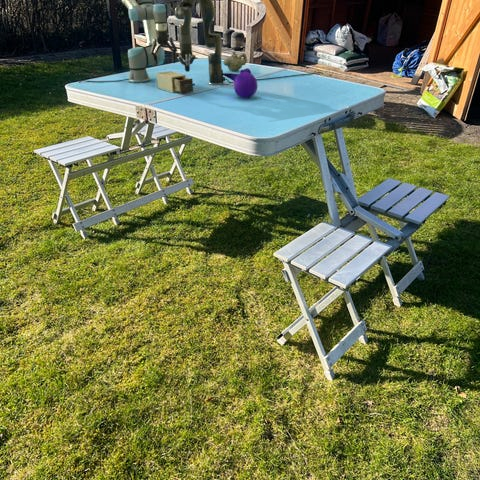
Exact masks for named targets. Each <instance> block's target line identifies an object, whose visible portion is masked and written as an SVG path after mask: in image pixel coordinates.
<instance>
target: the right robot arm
mask: <svg viewBox="0 0 480 480" xmlns="http://www.w3.org/2000/svg"><path fill="white" fill-rule="evenodd" d="M196 3H197V0H181V1H180V2H179V3H178V4H177V6H176V7H175V9H174V16H175V19H177V20H180V21H182V20H183V22H182V23H180V24H178V43H179V51H180V52H179V56H176V59H177V60H178V61H179V62H180V64H181V65H182V66H184V71H185V72H187V73H188V72H190V70H191V68H190V66H191V65H192V64H193V63H194V60H195V59H196V54H193V46H192V36H191V35H192V34H191V24H192V19H193V11H192V9H193V8H194V6H195V4H196ZM198 4H199V11H200V15H201V21H202V27H203V36H204V43H205V44H204V45H205V46H206V48H208V49H214V51H213V52H211V53H208V55H207V59H208V60H207V61H208V81H209V85H211V86H219V85H223V84H224V82H226V81H227V82H228V83H229V84H232V83H233V84H234V81H229V80H230V79H229V78H226V76H224V75H222V73H224V70H223V67H222V66H223V64H222V53H223V50H222V45H223V42H222V41H223V40H222V36H221V33H211V25H212V24H213V20H214V17H215V15H216V12H215V5H214V2H213V0H198ZM316 74H321V75H324V73H323V72H322V71H317V72H310V73H300V74H292V75H284V76H275V77H267V78H266V77H265V78H256V80H257V81H266V80H273V79H274V80H275V79H282V78H289V77H299V76H307V75H309V76H310V75H316Z"/></svg>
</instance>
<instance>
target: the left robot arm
mask: <svg viewBox="0 0 480 480" xmlns="http://www.w3.org/2000/svg"><path fill="white" fill-rule="evenodd" d="M120 1H121V3H122V4H123V6H124V7H126V8H127V10H128V11H127V12H128V18H129V20H130V21H133V22H134V21H135V22H138V21H142V24H143V30H144V36H145V42H146V45H145V46H144V47H145V48H144V47H143V46H137V47H132V48H130V49H127V58H128V64H129V65H128V66H129V76H128V78H124V79H119V80H117V79H116V80H86V79H85V80H84V79H82V80H79V81H78V82H79V83H78V84H80V83H81V82H86V83H87V82H88V83H115V82H117V83H118V82H125V81H128V82H129V83H133V84H141V83H148V82H150V76H149V74H148V71H147V66H159V65H163V64H164V63H165V59H166V58H165V57H166V56H165V55H166V54H165V48H164V46H166V47H167V48H168V49H169V51H171V52H170V56H171V63H172V64H176V60H175V59H176V53H177V52H178V49H177V46H176V44H175V43H174V40H173V37H169V33H168V23H167V22H168V21H167V9H166V5H165V4H163V3H156V0H120Z"/></svg>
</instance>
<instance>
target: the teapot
mask: <svg viewBox="0 0 480 480" xmlns="http://www.w3.org/2000/svg"><path fill="white" fill-rule="evenodd" d="M242 58H243V60H241V59H242ZM247 61H248V59H247V54H246V53H244V52H243V53H240V54H239V55H238V54H237V53H236V51H232V54H231V55H230V57H226V58H225V59H224V60H223V64H222V65H224V66H225V67H227V69H228V71H229V72H231V73H233V72H238V71H240V70H241V69H242V67H243V66H245V65H246V64H247Z"/></svg>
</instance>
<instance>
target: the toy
mask: <svg viewBox="0 0 480 480" xmlns="http://www.w3.org/2000/svg"><path fill="white" fill-rule="evenodd" d="M222 75H223V77H225V78H227V79H228V80H231V81H232V82H234V83H233V90H234V92H235V94H236V95H237V96H238V97H239V98H242V99H250V98H252V97H253V96H254V95H255V94H256V92H257V91H258V80H256V79H257V78H256V77H255V75H254V74H252V71H251V69H250V68H248V67H246V68H243V69H240V70H239V73H233V72H223V73H222Z"/></svg>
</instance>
